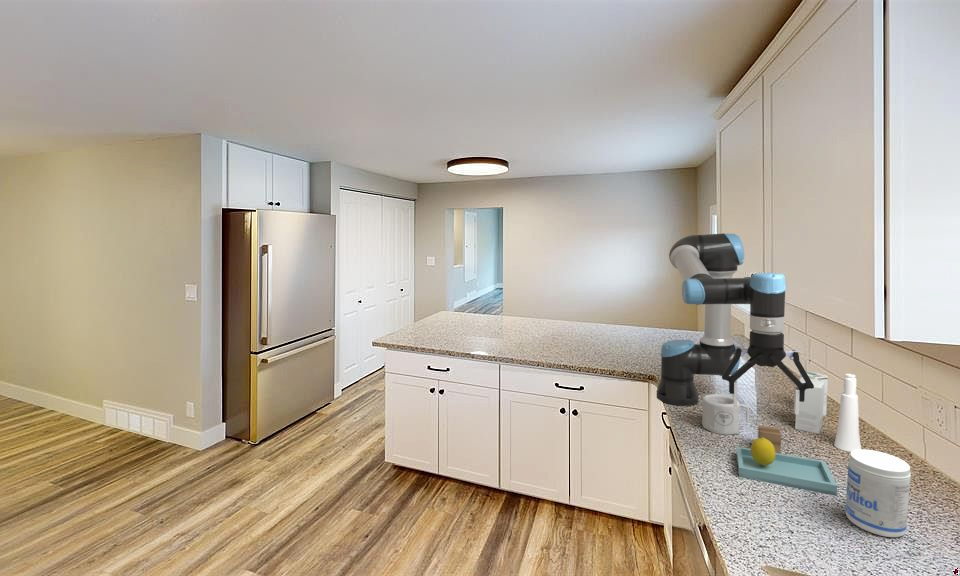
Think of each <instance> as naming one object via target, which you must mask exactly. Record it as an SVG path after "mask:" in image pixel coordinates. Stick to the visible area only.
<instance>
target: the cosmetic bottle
mask: <svg viewBox="0 0 960 576" xmlns="http://www.w3.org/2000/svg"><path fill="white" fill-rule="evenodd" d="M842 390H843V392H842V393H841V396H840V404H839V411H838V412H839V413H838V415H839V416H838V422H837V423H838V425H837V430H836V436H835V440H834V444H833V445H834V447H835V448H836V449H838V450H841V451H844V452H848V453H851V451H853V450H858V449H862V445H861V440H860V422H859V418H860V417H859V415H860V414H859V396H858V394H857V378H856V374H852V373H845V374H844V378H843V389H842Z"/></svg>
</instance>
